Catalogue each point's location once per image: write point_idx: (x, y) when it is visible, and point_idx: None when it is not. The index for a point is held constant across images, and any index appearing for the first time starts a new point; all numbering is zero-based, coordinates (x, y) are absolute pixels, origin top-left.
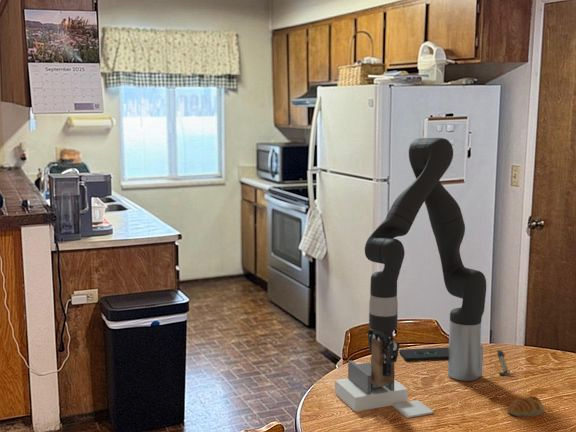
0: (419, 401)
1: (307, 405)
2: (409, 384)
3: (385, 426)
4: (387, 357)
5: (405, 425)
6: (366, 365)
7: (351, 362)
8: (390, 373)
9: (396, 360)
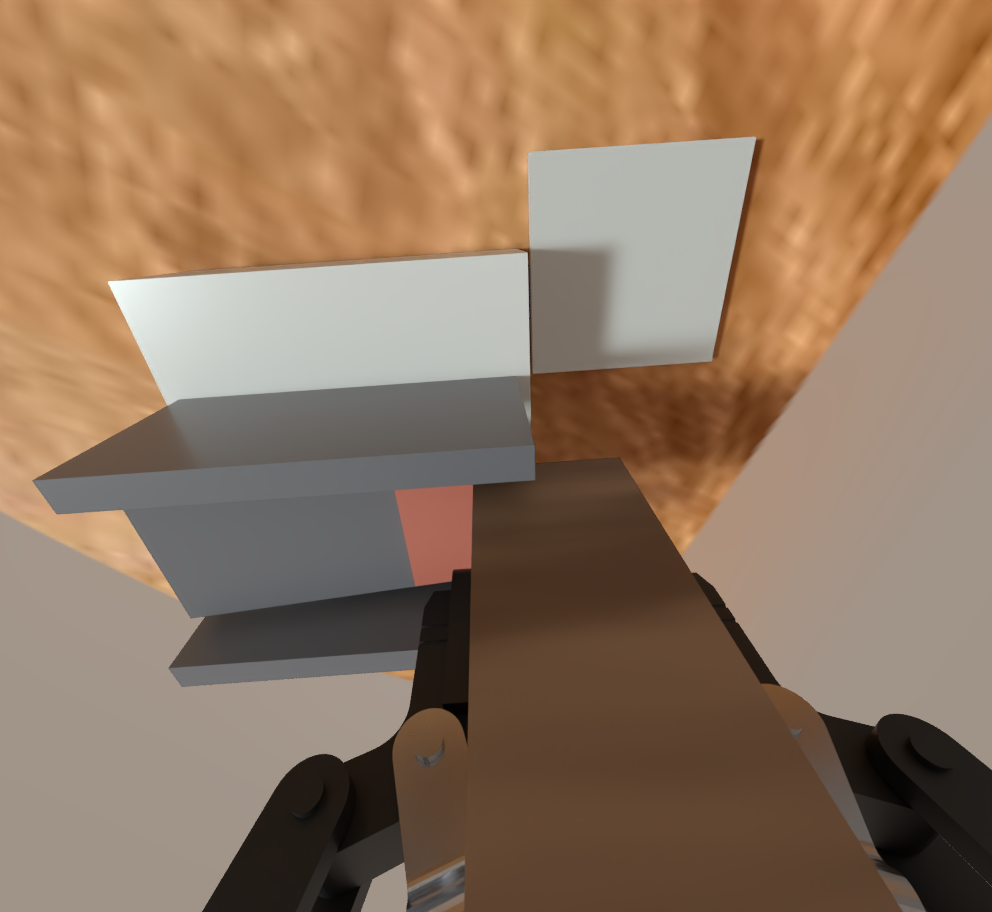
0: (557, 151)
1: (411, 671)
2: (152, 10)
3: (716, 492)
4: (925, 900)
5: (765, 404)
6: (192, 536)
7: (226, 679)
8: (707, 586)
9: (969, 753)
